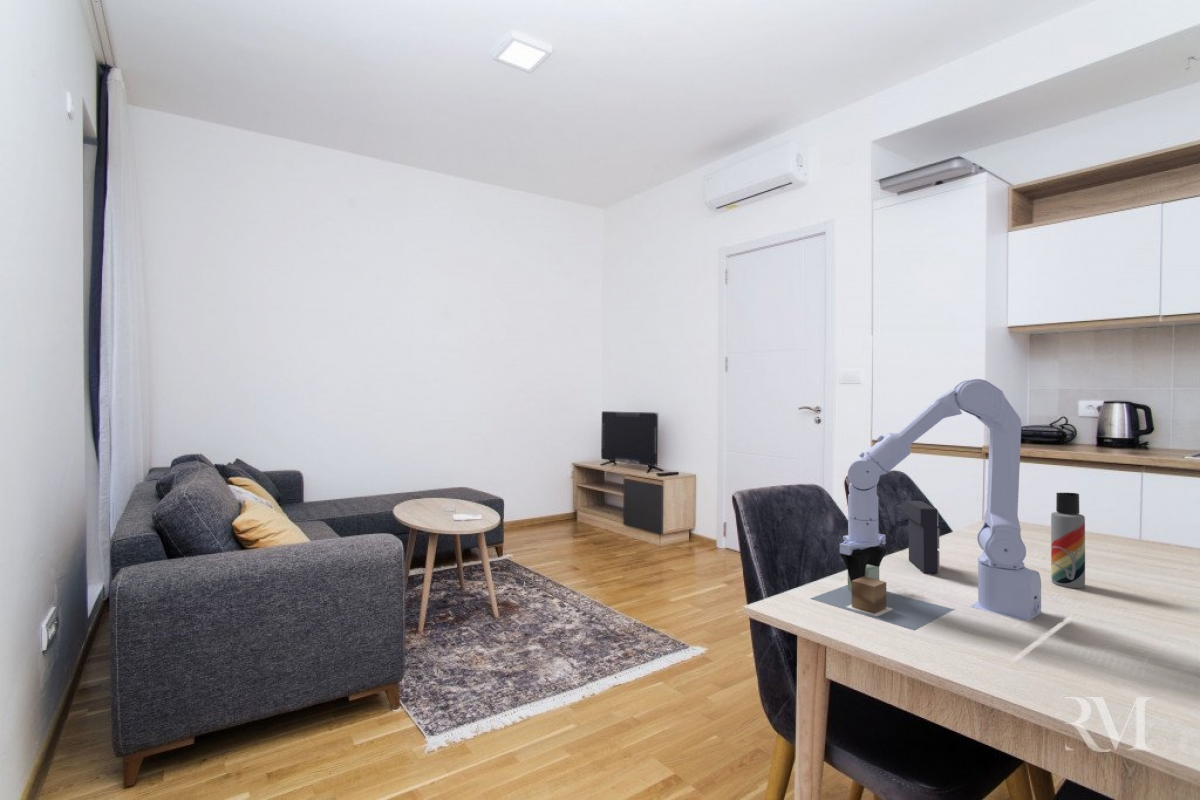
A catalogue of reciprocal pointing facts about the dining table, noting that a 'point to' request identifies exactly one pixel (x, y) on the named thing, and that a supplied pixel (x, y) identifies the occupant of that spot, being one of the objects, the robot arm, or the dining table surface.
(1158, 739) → the dining table surface
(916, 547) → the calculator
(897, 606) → the grey mat
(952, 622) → the dining table surface
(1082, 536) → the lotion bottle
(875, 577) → the sage block
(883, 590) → the walnut block
